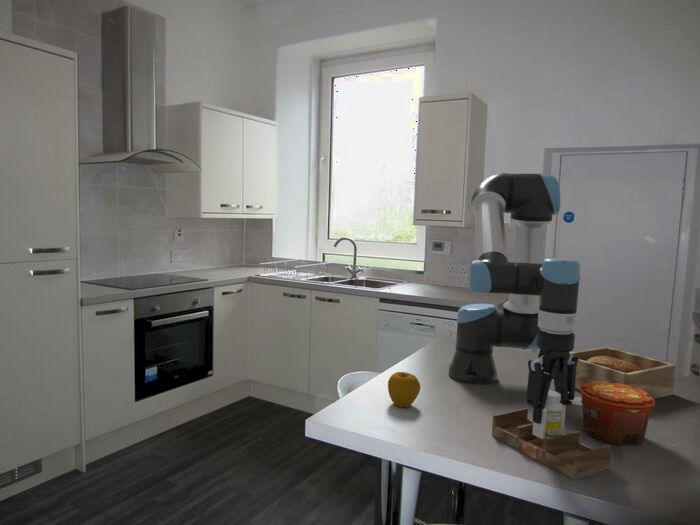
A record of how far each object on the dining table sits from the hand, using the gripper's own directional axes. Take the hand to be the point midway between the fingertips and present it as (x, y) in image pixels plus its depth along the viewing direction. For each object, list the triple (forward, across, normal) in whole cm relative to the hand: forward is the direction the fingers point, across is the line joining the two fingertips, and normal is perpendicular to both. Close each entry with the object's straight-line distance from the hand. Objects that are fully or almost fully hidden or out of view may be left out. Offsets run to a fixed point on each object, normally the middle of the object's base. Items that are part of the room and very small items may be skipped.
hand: (548, 433), depth 108 cm
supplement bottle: (+1, 0, 0) cm, 1 cm away
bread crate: (+4, +55, +20) cm, 59 cm away
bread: (+4, +55, +20) cm, 59 cm away
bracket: (+4, +34, +17) cm, 38 cm away
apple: (+4, -14, +35) cm, 38 cm away
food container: (+4, +22, -1) cm, 22 cm away
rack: (+4, 0, 0) cm, 4 cm away
